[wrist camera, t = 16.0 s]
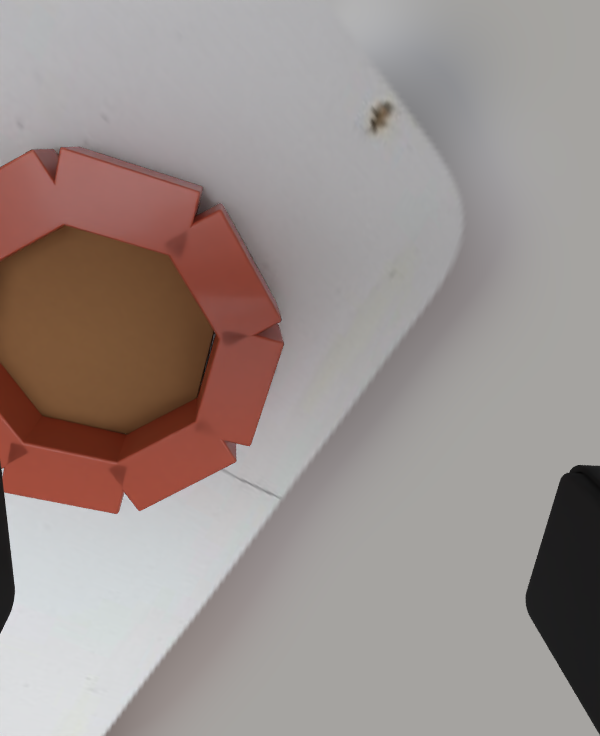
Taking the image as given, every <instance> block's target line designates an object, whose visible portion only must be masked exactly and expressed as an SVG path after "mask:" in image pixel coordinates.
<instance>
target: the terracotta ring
mask: <svg viewBox="0 0 600 736" xmlns="http://www.w3.org/2000/svg"><path fill="white" fill-rule="evenodd" d="M202 191H203V187H202V186H199V185H196V184H193V183H190V182H187V181H184V180H181V179H178V178H175V177H171V176H168V175H165V174H162V173H159V172H156V171H153V170H150V169H147V168H144V167H141V166H137V165H134V164H131V163H128V162H125V161H122V160H119V159H116V158H113V157H110V156H106V155H103V154H100V153H97V152H94V151H91V150H88V149H85V148H82V147H61V148H60V152H59V156H58V155H57V153H56V152H55V150H54V149H35V150H30V151H28V152H26V153H25V154H23V155H21V156H19V157H18V158H16V159H14V160H12V161H11V162H9V163H7V164H5V165H4V166H2V167H0V261H2V260H4V259H6V258H8V257H9V256H11V255H13V254H15V253H17V252H18V251H20V250H22V249H24V248H26V247H27V246H29V245H31V244H33V243H35V242H36V241H38V240H40V239H42V238H44V237H45V236H47V235H49V234H51V233H53V232H54V231H56V230H58V229H60V228H62V227H63V226H65V225H66V226H69V227H72V228H76V229H79V230H83V231H86V232H90V233H93V234H96V235H100V236H103V237H107V238H110V239H113V240H117V241H120V242H124V243H127V244H130V245H134V246H137V247H141V248H144V249H147V250H151V251H154V252H158V253H161V254H165V255H168V256H169V258H170V259H171V261H172V263H173V264H174V266H175V268H176V269H177V271H178V272H179V274H180V276H181V277H182V279H183V281H184V282H185V284H186V286H187V287H188V289H189V291H190V292H191V294H192V296H193V297H194V299H195V301H196V302H197V304H198V306H199V307H200V309H201V311H202V312H203V314H204V315H205V317H206V319H207V320H208V322H209V324H210V325H211V327H212V329H213V330H214V332H215V334H216V335H215V338H214V342H213V345H212V349H211V352H210V356H209V359H208V363H207V366H206V370H205V373H204V377H203V380H202V384H201V387H200V391H199V394H198V398H196V399H194V400H192V401H190V402H188V403H186V404H184V405H182V406H180V407H179V408H177V409H175V410H173V411H171V412H169V413H167V414H165V415H163V416H161V417H159V418H157V419H156V420H154V421H152V422H150V423H148V424H146V425H144V426H142V427H140V428H138V429H136V430H134V431H133V432H131V433H129V434H127V435H126V434H122V433H117V432H113V431H108V430H104V429H99V428H95V427H90V426H86V425H81V424H77V423H72V422H68V421H63V420H59V419H54V418H50V417H45V416H42V415H41V414H40V413H39V411H38V410H37V409H36V408H35V406H34V405H33V404H32V402H31V401H30V400H29V399H28V397H27V396H26V395H25V394H24V392H23V391H22V390H21V389H20V387H19V386H18V385H17V383H16V382H15V381H14V380H13V378H12V377H11V376H10V375H9V373H8V372H7V371H6V369H5V368H4V367H3V366H2V364H1V363H0V462H1V469H2V468H4V471H3V477H2V479H3V488H4V492H5V493H10V494H15V495H20V496H26V497H31V498H36V499H41V500H46V501H52V502H57V503H62V504H67V505H72V506H78V507H83V508H88V509H93V510H98V511H104V512H109V513H114V514H117V513H118V512H119V510H120V506H121V503H122V500H123V496H124V493H125V494H126V495H127V496H128V498H129V499H130V500H131V501H132V503H133V504H134V505H135V507H136V508H137V509H138V510H139V511H141V510H143V509H145V508H147V507H149V506H151V505H153V504H155V503H157V502H159V501H161V500H163V499H165V498H166V497H168V496H170V495H172V494H174V493H176V492H178V491H180V490H182V489H184V488H186V487H188V486H190V485H192V484H194V483H196V482H198V481H200V480H202V479H204V478H206V477H208V476H210V475H212V474H213V473H215V472H217V471H219V470H221V469H223V468H225V467H227V466H229V465H231V464H233V463H235V462H236V443H237V444H242V445H246V446H250V445H251V443H252V440H253V437H254V434H255V431H256V428H257V425H258V422H259V419H260V416H261V413H262V410H263V406H264V403H265V400H266V397H267V394H268V391H269V388H270V385H271V382H272V379H273V376H274V373H275V370H276V367H277V364H278V361H279V358H280V355H281V352H282V349H283V346H284V342H283V339H282V335H281V332H280V328H279V325H277V323H279V322H280V321H281V316H280V313H279V309H278V306H277V303H276V301H275V299H274V297H273V296H272V294H271V292H270V290H269V288H268V286H267V285H266V283H265V281H264V279H263V277H262V275H261V274H260V272H259V270H258V268H257V266H256V264H255V263H254V261H253V259H252V257H251V255H250V253H249V252H248V250H247V248H246V246H245V244H244V242H243V240H242V239H241V237H240V235H239V233H238V231H237V229H236V228H235V226H234V224H233V222H232V220H231V218H230V217H229V215H228V213H227V211H226V209H225V207H224V206H223V204H221V203H219V204H217V205H215V206H213V207H212V208H210V209H208V210H206V211H204V212H202V213H201V214H199V215H197V216H196V214H197V211H198V207H199V203H200V199H201V195H202Z"/></svg>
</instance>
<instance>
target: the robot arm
mask: <svg viewBox="0 0 600 736" xmlns="http://www.w3.org/2000/svg"><path fill="white" fill-rule="evenodd" d="M14 595H15V585H14V577H13V568H12V559H11V550H10V541H9V532H8V523H7V515H6V506H5V497H4V488H3V479H2V470H1V462H0V633H1V631H2V629H3V627H4V625H5V623H6V621H7V619H8V617H9V615H10V612H11V610H12V606H13V602H14ZM526 607H527V610H528V613H529V615H530V617H531V619H532V621H533V623H534V624H535V626H536V628H537V629H538V631H539V633H540V634H541V636H542V638H543V639H544V641H545V643H546V645H547V646H548V648H549V650H550V651H551V653H552V655H553V656H554V658H555V660H556V661H557V663H558V665H559V667H560V668H561V670H562V672H563V673H564V675H565V677H566V678H567V680H568V682H569V684H570V685H571V687H572V689H573V690H574V692H575V694H576V695H577V697H578V699H579V700H580V702H581V704H582V706H583V707H584V709H585V711H586V712H587V714H588V716H589V717H590V719H591V721H592V723H593V724H594V726H595V728H596V729H597V731H598V732H599V734H600V466H589V465H587V466H586V465H577V466H575V467H573V468H572V469H571V470H570V472H569V473H566V474H564V475H563V477H562V478H561V480H560V483H559V486H558V489H557V493H556V496H555V499H554V503H553V506H552V509H551V513H550V516H549V519H548V522H547V526H546V529H545V533H544V536H543V539H542V542H541V545H540V549H539V552H538V555H537V559H536V562H535V565H534V569H533V572H532V576H531V579H530V582H529V586H528V589H527V592H526Z"/></svg>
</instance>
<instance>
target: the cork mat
mask: <svg viewBox="0 0 600 736" xmlns="http://www.w3.org/2000/svg"><path fill="white" fill-rule="evenodd" d="M213 333H214V330H213V329H212V327H211V325H210V324H209V322H208V320H207V319H206V317H205V315H204V314H203V312H202V311H201V309H200V307H199V306H198V304H197V302H196V301H195V299H194V297H193V296H192V294H191V292H190V291H189V289H188V287H187V286H186V284H185V282H184V281H183V279H182V277H181V276H180V274H179V272H178V271H177V269H176V268H175V266H174V264H173V263H172V261H171V259H170V258H169V256H168V255H165V254H161V253H158V252H154V251H151V250H147V249H144V248H141V247H137V246H134V245H130V244H127V243H124V242H120V241H117V240H113V239H110V238H107V237H103V236H100V235H96V234H93V233H90V232H86V231H83V230H79V229H76V228H72V227H69V226H66V225H65V226H63V227H62V228H60V229H58V230H56V231H54V232H53V233H51V234H49V235H47V236H45V237H44V238H42V239H40V240H38V241H36V242H35V243H33V244H31V245H29V246H27V247H26V248H24V249H22V250H20V251H18V252H17V253H15V254H13V255H11V256H9V257H8V258H6V259H4V260H2V261H0V363H1V364H2V366H3V367H4V368H5V369H6V371H7V372H8V373H9V375H10V376H11V377H12V378H13V380H14V381H15V382H16V383H17V385H18V386H19V387H20V389H21V390H22V391H23V392H24V394H25V395H26V396H27V397H28V399H29V400H30V401H31V402H32V404H33V405H34V406H35V408H36V409H37V410H38V411H39V413H40V414H41V415H42V416H45V417H50V418H54V419H59V420H63V421H68V422H72V423H77V424H81V425H86V426H90V427H95V428H99V429H104V430H109V431H114V432H119V433H124V434H129V433H131V432H133V431H134V430H136V429H138V428H140V427H142V426H144V425H146V424H148V423H150V422H152V421H154V420H156V419H157V418H159V417H161V416H163V415H165V414H167V413H169V412H171V411H173V410H175V409H177V408H179V407H180V406H182V405H184V404H186V403H188V402H190V401H192V400H194V399H196V398H197V395H198V391H199V387H200V383H201V379H202V375H203V372H204V368H205V364H206V360H207V356H208V352H209V348H210V345H211V341H212V337H213Z"/></svg>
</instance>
